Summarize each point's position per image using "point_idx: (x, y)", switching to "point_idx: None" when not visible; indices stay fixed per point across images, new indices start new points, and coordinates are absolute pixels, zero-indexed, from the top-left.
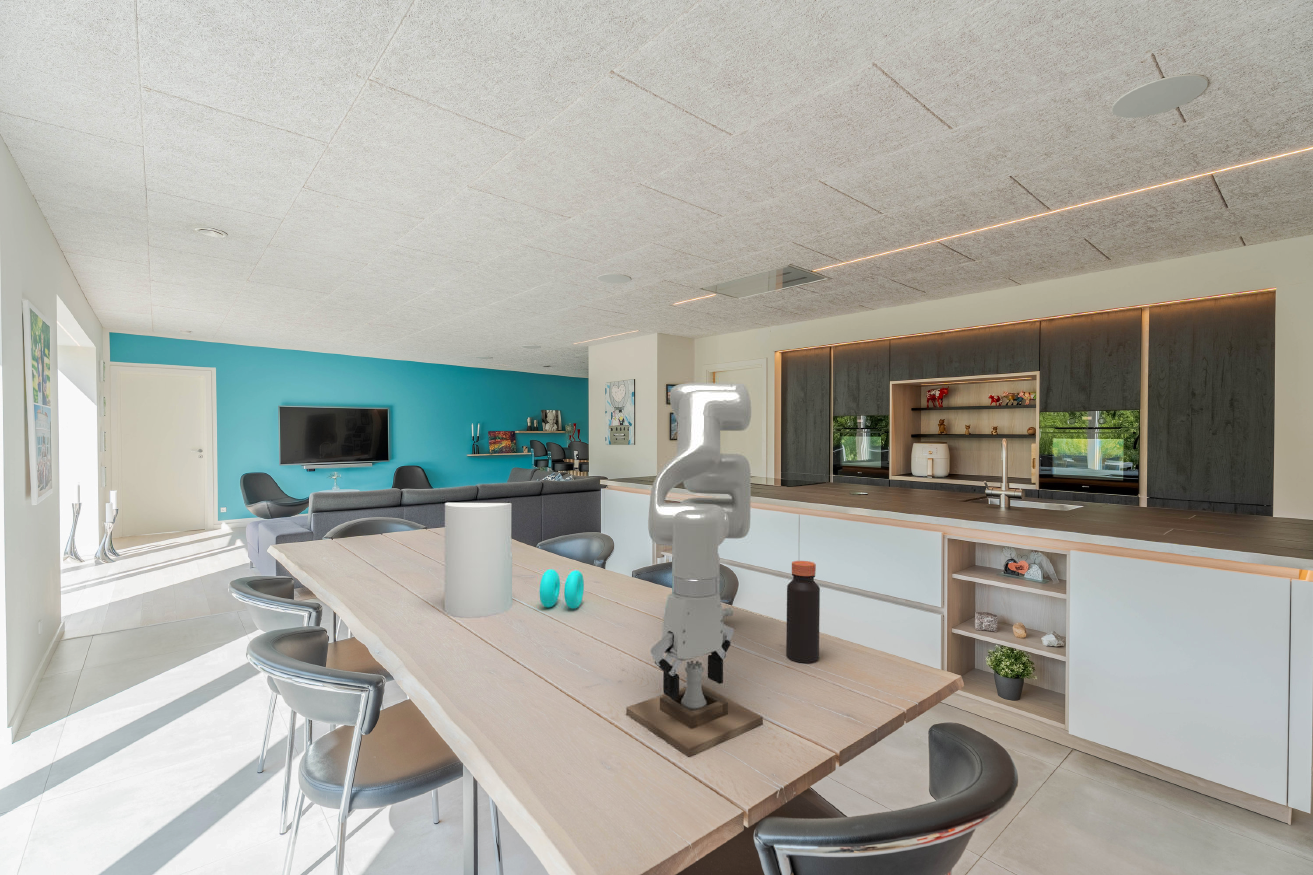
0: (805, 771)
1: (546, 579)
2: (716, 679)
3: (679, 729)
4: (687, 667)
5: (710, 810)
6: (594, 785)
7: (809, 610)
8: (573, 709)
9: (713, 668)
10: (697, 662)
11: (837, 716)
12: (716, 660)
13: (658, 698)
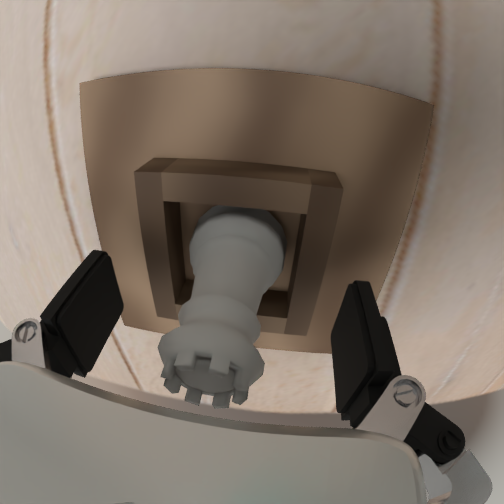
0: (261, 410)
1: None
2: (335, 332)
3: (141, 275)
4: (165, 362)
5: (108, 372)
6: (2, 262)
7: None
8: (25, 5)
9: (346, 353)
10: (237, 385)
11: (439, 378)
12: (343, 405)
13: (204, 84)
